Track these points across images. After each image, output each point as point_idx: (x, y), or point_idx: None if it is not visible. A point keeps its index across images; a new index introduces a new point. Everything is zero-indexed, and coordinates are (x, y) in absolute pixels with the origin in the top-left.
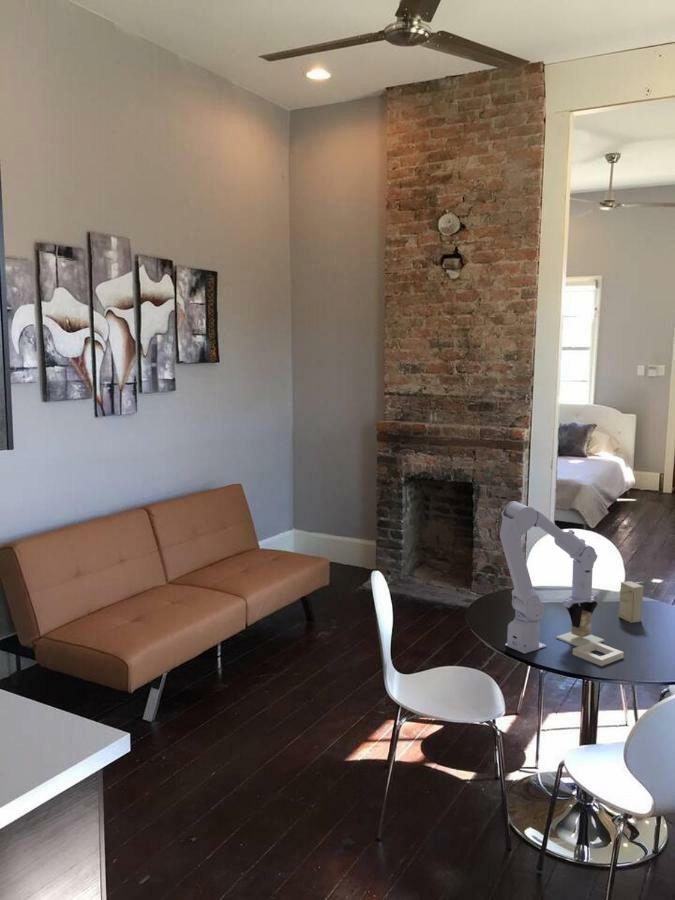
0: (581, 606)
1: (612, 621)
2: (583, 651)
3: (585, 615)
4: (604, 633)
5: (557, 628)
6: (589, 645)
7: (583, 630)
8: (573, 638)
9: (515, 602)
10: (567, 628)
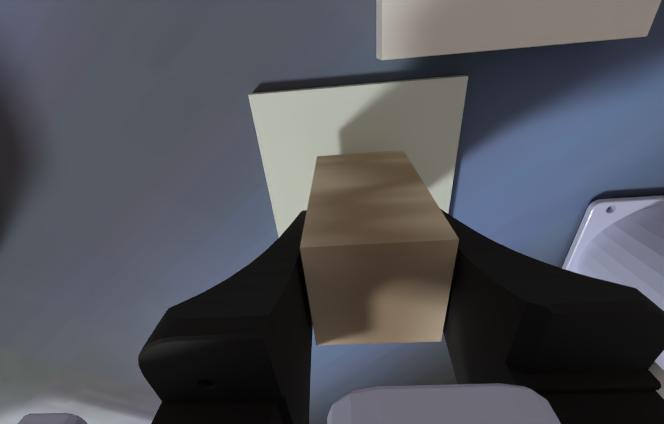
0: (307, 369)
1: (41, 258)
2: None
3: (408, 236)
4: (170, 177)
5: None
6: (492, 10)
7: (401, 168)
8: None
9: None
10: None
